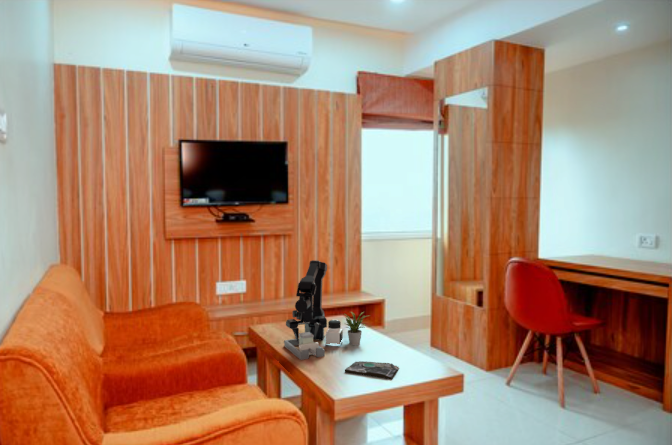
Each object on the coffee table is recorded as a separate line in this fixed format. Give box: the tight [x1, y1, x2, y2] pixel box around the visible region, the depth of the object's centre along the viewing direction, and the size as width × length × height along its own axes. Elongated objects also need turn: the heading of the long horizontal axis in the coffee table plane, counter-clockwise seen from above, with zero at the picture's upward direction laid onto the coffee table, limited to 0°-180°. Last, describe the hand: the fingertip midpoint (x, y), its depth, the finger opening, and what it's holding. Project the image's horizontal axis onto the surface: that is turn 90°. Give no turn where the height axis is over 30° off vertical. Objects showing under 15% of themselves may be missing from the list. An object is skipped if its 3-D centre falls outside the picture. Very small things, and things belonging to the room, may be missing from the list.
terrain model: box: [344, 360, 400, 380], centre depth 205 cm, size 20×15×3 cm
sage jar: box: [298, 331, 314, 346], centre depth 225 cm, size 5×5×9 cm
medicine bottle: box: [325, 319, 344, 345], centre depth 239 cm, size 7×7×12 cm
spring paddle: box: [298, 341, 320, 356], centre depth 220 cm, size 8×9×5 cm
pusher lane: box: [283, 338, 326, 360], centre depth 228 cm, size 21×12×4 cm, turn 26°
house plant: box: [344, 311, 371, 346], centre depth 241 cm, size 14×14×16 cm
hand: (306, 340), depth 225 cm, fingers open, 9 cm apart
